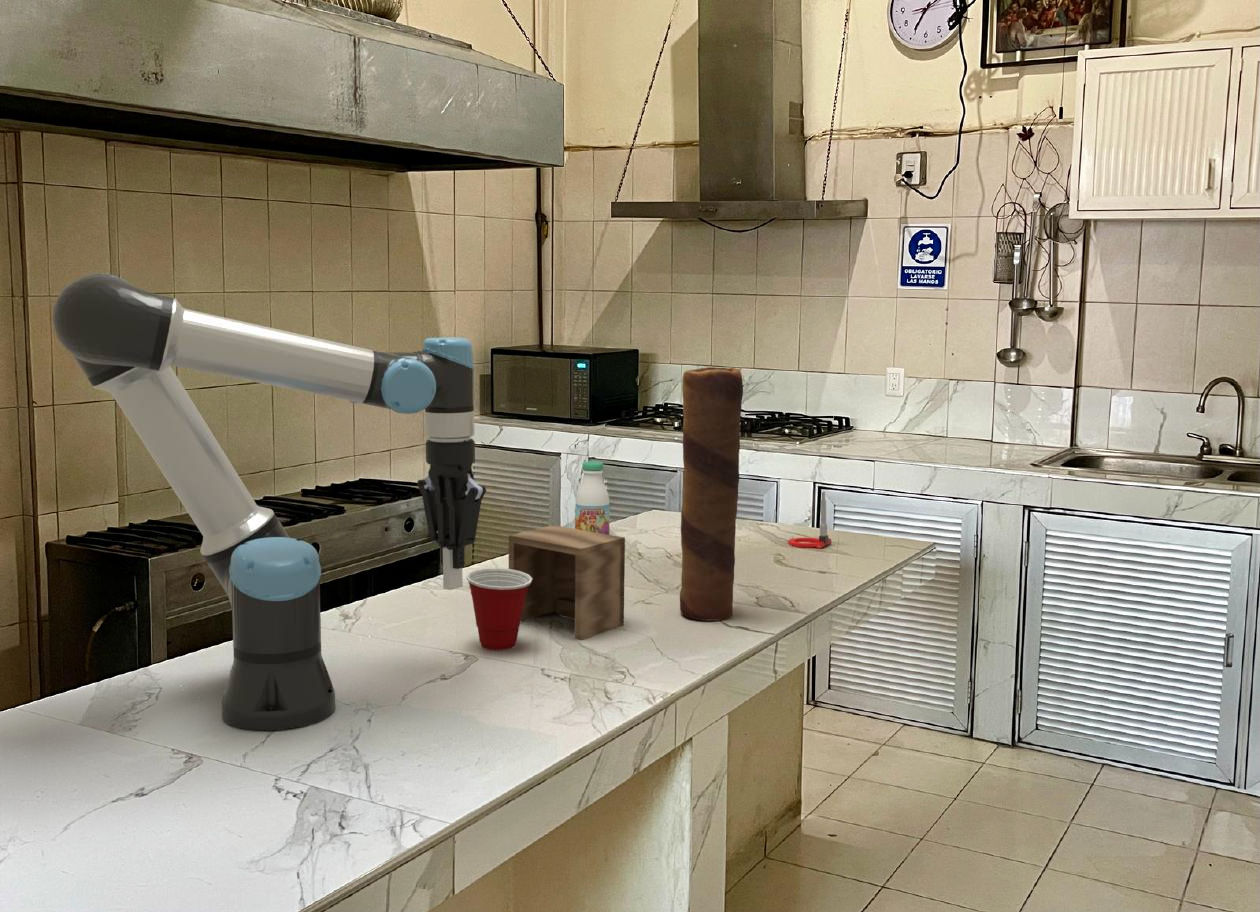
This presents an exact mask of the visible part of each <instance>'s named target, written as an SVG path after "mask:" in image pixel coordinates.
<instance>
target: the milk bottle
mask: <svg viewBox="0 0 1260 912" xmlns="http://www.w3.org/2000/svg"><path fill="white" fill-rule="evenodd" d="M582 473H583V475H582V481H581V483H580V486H579V488H578V490H577V493H576V496H575V509H574V511H575V513H574V514H575V515H574V517H575V518H574V529H579V530H584V531H590V532H596V533H602V534H607V535H610V514H611V513H610V512H611V511H610V496H609V491H608V490H607V487H606V484H605V482H604V478H603V473H604V463H603V462H601V461H584V462H582Z"/></svg>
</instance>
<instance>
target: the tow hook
mask: <svg viewBox="0 0 1260 912" xmlns="http://www.w3.org/2000/svg"><path fill="white" fill-rule="evenodd" d="M832 541H833V540H832V539H831V538H830V537H829V534H828V524H827V500H826V491H823V490H822V491H821V500H820V525H819V536H818V537H795V538H794V537H793V538H790V539H788V541H787V544H788V545H789V546H791V545H793V546H792V547H796V546H797V548H816V549H818V548H820V549H823V548H825V546H826V547H827V546H829V545H830V544H832ZM828 544H829V545H828ZM822 547H823V548H822Z"/></svg>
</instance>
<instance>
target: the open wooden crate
mask: <svg viewBox="0 0 1260 912" xmlns="http://www.w3.org/2000/svg"><path fill="white" fill-rule="evenodd" d="M625 554H626V537H624V536H618V535H613V534H609V535H607V534H602V533H596V532H590V531H584V530H579V529H575V528H572V527H566V526H561V525H555V524H554V525H553V524H551V525H549V526H548V525H547V526H544V527H540V528H535V529H532V530H531V529H530V530H527V531H522V532H519V533H518V532H517V533H512V534H509V535H508V569H512V570H517V571H521V572H524V573H526V574H528V575H530V576H531V577H532V581H531V584H530V585H529V586H528V589H527V592H526V595H525V599H524V605H523V610H522V616H521V621H520V623H521V622H524V621H527V620H528V621H529V620H531V619H533V618H538V617H540V616H543V615H547V614H549V613H553V612H555V613H556V615H557V616H561V617H565V618H569V619H573V620H574V639H575V640H578V641H581V640H582V641H583V640H585V639H588V638H591V637H593V636H596V635H599V634H602V633H605V632H608V631H611V630H612V629H616V628H618V627H619V628H620V627H622V626H624V624H625V572H626V571H625V570H626V569H625V566H626V565H625V564H626V563H625V562H626V561H625V560H626V559H625V558H626V557H625Z"/></svg>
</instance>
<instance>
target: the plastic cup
mask: <svg viewBox="0 0 1260 912" xmlns="http://www.w3.org/2000/svg"><path fill="white" fill-rule="evenodd" d="M465 578H466V581H467V582H468V584H469V589H470V595H471V599H472V604H473V610H474V611H473V613H474V616H475V617H474V618H475V624H476V628H477V633H478V639H479V643H480V646H481V647H482V649H486V650H489V651H505V650H511V649H513V648H515V647H516V645H517V641H518V635H519V630H520V625H521V622H522V621H521V616H522V610H523V605H524V599H525V595H526V592H527V589H528V586H529V585H530V584H531V581H532V577H531V576H530V575H528V574H526V573H524V572H521V571H517V570H512V569H509V568H505V567H504V568H502V567H489V568H488V567H485V568H480V569H474V570H471V571H470V572H468V573H467V574H466V576H465ZM520 621H521V622H520Z"/></svg>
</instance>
